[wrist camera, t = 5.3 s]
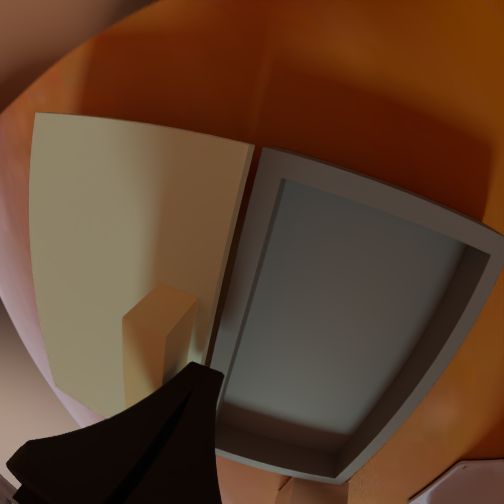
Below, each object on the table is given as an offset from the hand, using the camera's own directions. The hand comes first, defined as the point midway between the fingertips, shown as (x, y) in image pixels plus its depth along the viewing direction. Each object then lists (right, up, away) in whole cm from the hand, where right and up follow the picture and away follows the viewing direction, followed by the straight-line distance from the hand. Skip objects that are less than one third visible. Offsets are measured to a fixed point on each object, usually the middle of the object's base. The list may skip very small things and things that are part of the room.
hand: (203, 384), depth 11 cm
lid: (-5, +2, +2) cm, 6 cm away
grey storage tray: (+5, 0, +4) cm, 6 cm away
